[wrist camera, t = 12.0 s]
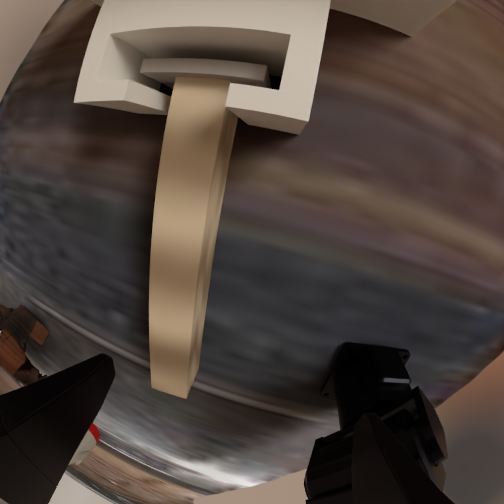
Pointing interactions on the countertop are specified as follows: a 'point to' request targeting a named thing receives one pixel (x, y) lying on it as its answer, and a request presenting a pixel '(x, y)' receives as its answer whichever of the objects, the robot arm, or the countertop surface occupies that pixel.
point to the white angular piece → (227, 49)
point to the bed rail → (189, 207)
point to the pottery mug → (19, 343)
